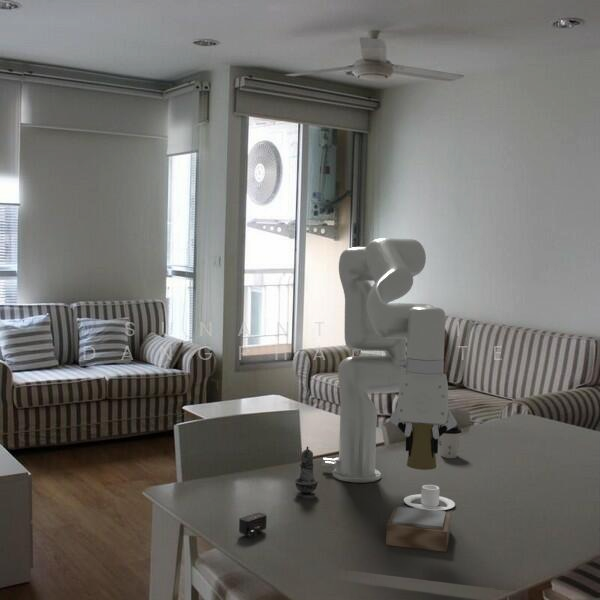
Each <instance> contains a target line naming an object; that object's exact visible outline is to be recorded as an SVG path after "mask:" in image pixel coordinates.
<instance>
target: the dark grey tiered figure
mask: <svg viewBox="0 0 600 600" xmlns="http://www.w3.org/2000/svg"><path fill="white" fill-rule="evenodd" d="M300 455H301V462H300V464H299V467H300V473H299V477H297V478H294V480H293V481H294V484H295V487H296V489H297V490H298V492H296V493H295V494H294V495H295V497H296V498H299V499H304V500H305V499H306V500H309V499H315V498H317V497H316V496H318V494H317V493H316V492H314V491H315V490H316V489H317V487H318V483H319V481H320V480H318V479H317V478H315V477H314V467H315V463H314V452H313V451H312V450H310V449H309V446H308V445H307V447H306V449H304V450H303V451H302V452H301V454H300Z"/></svg>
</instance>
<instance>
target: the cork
mask: <svg viewBox="0 0 600 600" xmlns="http://www.w3.org/2000/svg"><path fill="white" fill-rule="evenodd" d="M412 427H413V428H412V438H413V442H412V449H411V455H410V456H408V455H407V456H408V457H407V461H406V466H407V467H409V468H411V469H415V470H422V471H426V470H427V471H428V470H434V469H436V468H437V460H436V459H437V457H436V453H434V456H433V458H432V452H431V439H432V438H433V437H432V435H433V431H432V428H433V425H431V424H424V423H412Z"/></svg>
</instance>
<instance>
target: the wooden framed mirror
mask: <svg viewBox="0 0 600 600" xmlns="http://www.w3.org/2000/svg"><path fill="white" fill-rule="evenodd" d="M427 509H428V508H427ZM427 509H418V508H414V507H406V506H398V507H393V509H392V511H391V514H390V516H389V519H388V521H387V523H386V529H385V530H386V531H385V532H386V533H385V536H386V537H385V545H386V546H394V547H402V548H412V549H419V550H420V549H421V550H428V551H437V552H445V553H446V552H448V544H449V539H450V533H451V519H452V517H451V514H452V513H450V512H447V510H440V511H436V510H427Z"/></svg>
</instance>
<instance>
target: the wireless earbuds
mask: <svg viewBox="0 0 600 600" xmlns="http://www.w3.org/2000/svg"><path fill="white" fill-rule="evenodd" d="M267 516H268V515H267V514H265V513H262V512H255V513H251V514H250V515H249V514H248V515H245V516H242V517H239V519H238V532H239V533H240V534H242V535H245V536H247V537H248V538H253V537H255V536H256V535H257V533H258V532H261V531H264V530H267V519H268V518H267Z"/></svg>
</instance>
